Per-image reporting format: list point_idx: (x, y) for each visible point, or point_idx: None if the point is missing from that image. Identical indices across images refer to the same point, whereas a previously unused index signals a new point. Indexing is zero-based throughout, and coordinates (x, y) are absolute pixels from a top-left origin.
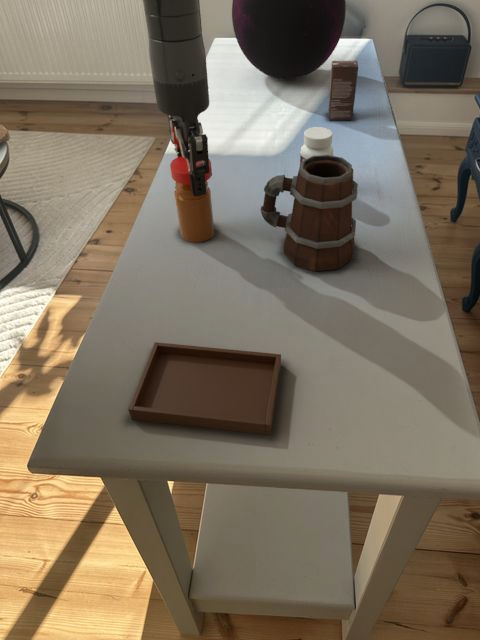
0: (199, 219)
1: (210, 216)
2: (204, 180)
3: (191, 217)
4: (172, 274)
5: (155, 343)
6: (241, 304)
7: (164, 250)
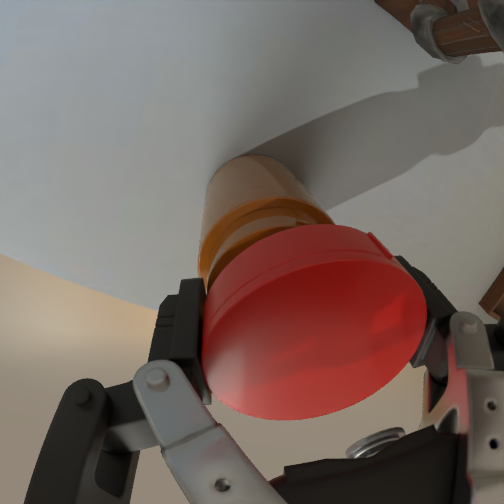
0: None
1: (301, 184)
2: (429, 289)
3: None
4: None
5: (490, 313)
6: (487, 185)
7: None
